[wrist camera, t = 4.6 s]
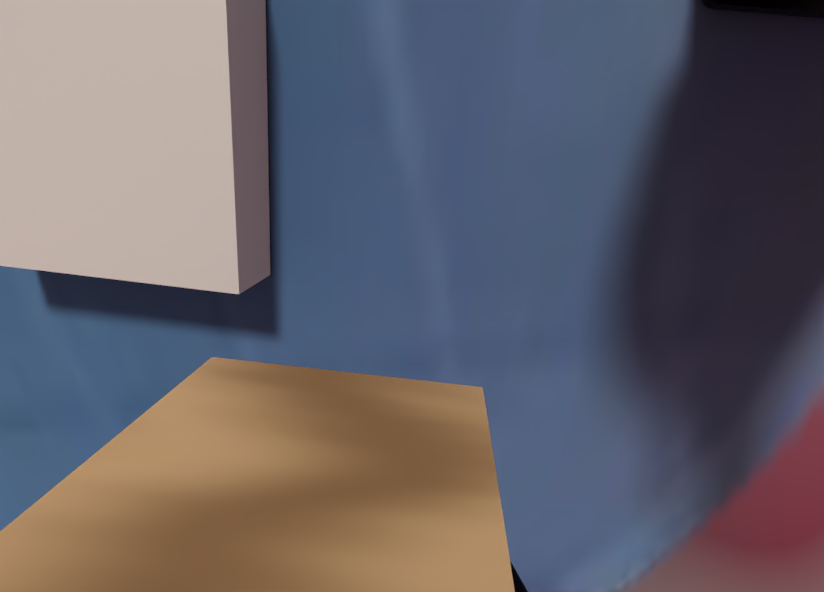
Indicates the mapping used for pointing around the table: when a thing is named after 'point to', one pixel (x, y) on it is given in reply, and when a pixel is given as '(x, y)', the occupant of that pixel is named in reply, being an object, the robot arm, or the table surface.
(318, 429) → the oak cube
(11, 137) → the beige square block
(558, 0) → the table surface
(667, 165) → the table surface
